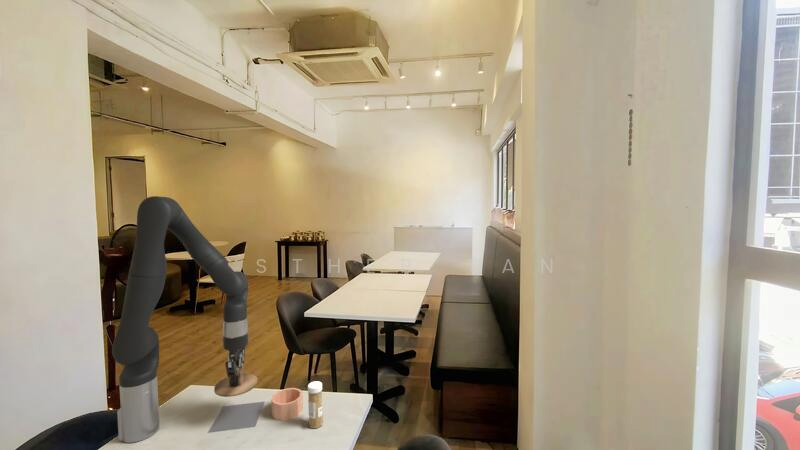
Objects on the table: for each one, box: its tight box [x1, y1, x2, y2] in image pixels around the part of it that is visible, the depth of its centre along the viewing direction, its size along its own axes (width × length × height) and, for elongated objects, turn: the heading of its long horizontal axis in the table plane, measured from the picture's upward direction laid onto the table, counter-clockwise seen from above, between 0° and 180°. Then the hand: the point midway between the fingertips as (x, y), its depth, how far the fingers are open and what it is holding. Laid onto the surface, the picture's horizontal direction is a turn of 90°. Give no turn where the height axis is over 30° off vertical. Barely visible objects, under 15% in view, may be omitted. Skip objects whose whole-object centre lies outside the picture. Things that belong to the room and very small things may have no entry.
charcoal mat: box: [207, 401, 266, 434], centre depth 110 cm, size 14×14×1 cm
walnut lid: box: [213, 367, 258, 398], centre depth 110 cm, size 13×13×5 cm
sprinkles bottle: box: [307, 380, 324, 429], centre depth 106 cm, size 5×5×13 cm
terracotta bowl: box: [270, 387, 304, 421], centre depth 113 cm, size 10×10×6 cm
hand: (236, 382), depth 110 cm, fingers closed on walnut lid, 3 cm apart
